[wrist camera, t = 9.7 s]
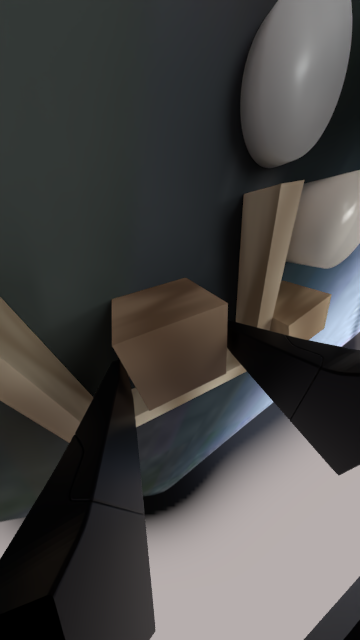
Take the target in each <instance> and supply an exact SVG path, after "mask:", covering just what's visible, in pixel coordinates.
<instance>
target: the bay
mask: <svg viewBox="0 0 360 640" xmlns="http://www.w3.org/2000/svg"><path fill="white" fill-rule="evenodd" d="M303 184H304V180H301V181H295V182H289V183H283V184H279V185H275V186H271V187H268V188H264V189H261V190H257V191H253V192H250V193H246V194H244V198H243V213H242V229H241V245H240V260H239V276H238V292H237V308H236V322H238V323H242V324H246V325H250V326H254V327H257V328H261V329H265V330H269V331H270V327H271V322H272V318H273V314H274V309H275V305H276V301H277V296H278V292H279V288H280V283H281V279H282V275H283V270H284V266H285V262H286V257H287V253H288V249H289V244H290V240H291V236H292V231H293V227H294V223H295V218H296V214H297V210H298V206H299V201H300V197H301V193H302V188H303ZM244 372H246V370H245V369H244V367H243V366H242V365H241V364H240V363H239V362H238V361H237V359H236V358H235V357H234V356H233V355H232V354H231V352H230V351H229V350H228V348H227V362H226V374H224V375H222V376H220V377H218V378H216V379H214V380H212V381H210V382H208V383H206V384H204V385H202V386H200V387H198V388H196V389H194V390H192V391H190V392H188V393H186V394H184V395H181V396H179V397H177V398H175V399H173V400H171V401H169V402H167V403H165V404H163V405H161V406H159V407H157V408H155V409H153V410H151V411H149V410H148V408H147V406H146V405H145V403H144V401H143V399H142V397H141V396H140V394H139V392H138V390H137V389H136V388H133V389H131V390H132V394H133V400H134V410H135V420H136V427H138V426H140V425H142V424H144V423H146V422H148V421H150V420H152V419H154V418H156V417H158V416H160V415H162V414H164V413H165V412H167V411H169V410H171V409H173V408H175V407H177V406H179V405H181V404H183V403H185V402H187V401H189V400H191V399H193V398H195V397H197V396H199V395H201V394H203V393H205V392H207V391H209V390H211V389H213V388H215V387H217V386H219V385H221V384H223V383H224V382H226V381H228V380H230V379H232V378H234V377H236V376H238V375H240V374H242V373H244ZM92 400H93V396H92V395H91V394H90V393H89V392H88V391H87V390H86V389H85V388H84V387H83V386H82V385H81V383H80V382H79V381H78V380H77V379H76V378H75V377H74V376H73V375H72V374H71V373H70V372H69V371H68V369H67V368H66V367H65V366H64V365H63V364H62V363H61V362H60V361H59V360H58V359H57V358H56V356H55V355H54V354H53V353H52V352H51V351H50V350H49V349H48V348H47V347H46V346H45V345H44V344H43V342H42V341H41V340H40V339H39V338H38V337H37V336H36V335H35V334H34V333H33V332H32V331H31V330H30V328H29V327H28V326H27V325H26V324H25V323H24V322H23V321H22V320H21V319H20V318H19V317H18V315H17V314H16V313H15V312H14V311H13V310H12V309H11V308H10V307H9V306H8V305H7V304H6V303H5V301H4V300H3V299H2V298H1V297H0V401H2V402H4V403H5V404H7V405H8V406H10V407H12V408H13V409H15V410H17V411H18V412H20V413H21V414H23V415H25V416H26V417H28V418H30V419H31V420H33V421H35V422H36V423H38V424H39V425H41V426H43V427H44V428H46V429H48V430H49V431H51V432H53V433H54V434H56V435H57V436H59V437H61V438H62V439H64V440H66V441H67V442H69V443H70V441H71V439H72V437H73V436H74V435H75V432H76V430H77V428H78V426H79V424H80V422H81V420H82V419H83V417H84V415H85V413H86V411H87V409H88V407H89V405H90V403H91V401H92Z"/></svg>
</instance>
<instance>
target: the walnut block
mask: <svg viewBox="0 0 360 640" xmlns="http://www.w3.org/2000/svg"><path fill="white" fill-rule="evenodd" d="M227 320H228V303H226V302H225V301H223V300H222V299H220V298H218V297H217V296H215V295H213V294H212V293H210V292H208V291H207V290H205V289H203V288H202V287H200V286H199V285H197V284H195V283H194V282H192V281H190V280H189V279H187V278H182V279H179V280H176V281H172V282H169V283H165V284H162V285H159V286H155V287H152V288H148V289H145V290H142V291H138V292H135V293H131V294H128V295H125V296H121V297H118V298H114V299H112V346H113V348H114V350H115V352H116V353H117V355H118V357H119V359H120V360H121V362H122V364H123V366H124V368H125V369H126V371H127V373H128V375H129V376H130V378H131V380H132V382H133V383H134V385H135V387H136V389H137V390H138V392H139V394H140V396H141V397H142V399H143V401H144V403H145V405H146V406H147V408H148V410H149V411H151V410H153V409H155V408H157V407H159V406H161V405H163V404H165V403H167V402H169V401H171V400H173V399H175V398H177V397H179V396H181V395H184V394H186V393H188V392H190V391H192V390H194V389H196V388H198V387H200V386H202V385H204V384H206V383H208V382H210V381H212V380H214V379H216V378H218V377H220V376H222V375H224V374H226V362H227Z"/></svg>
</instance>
